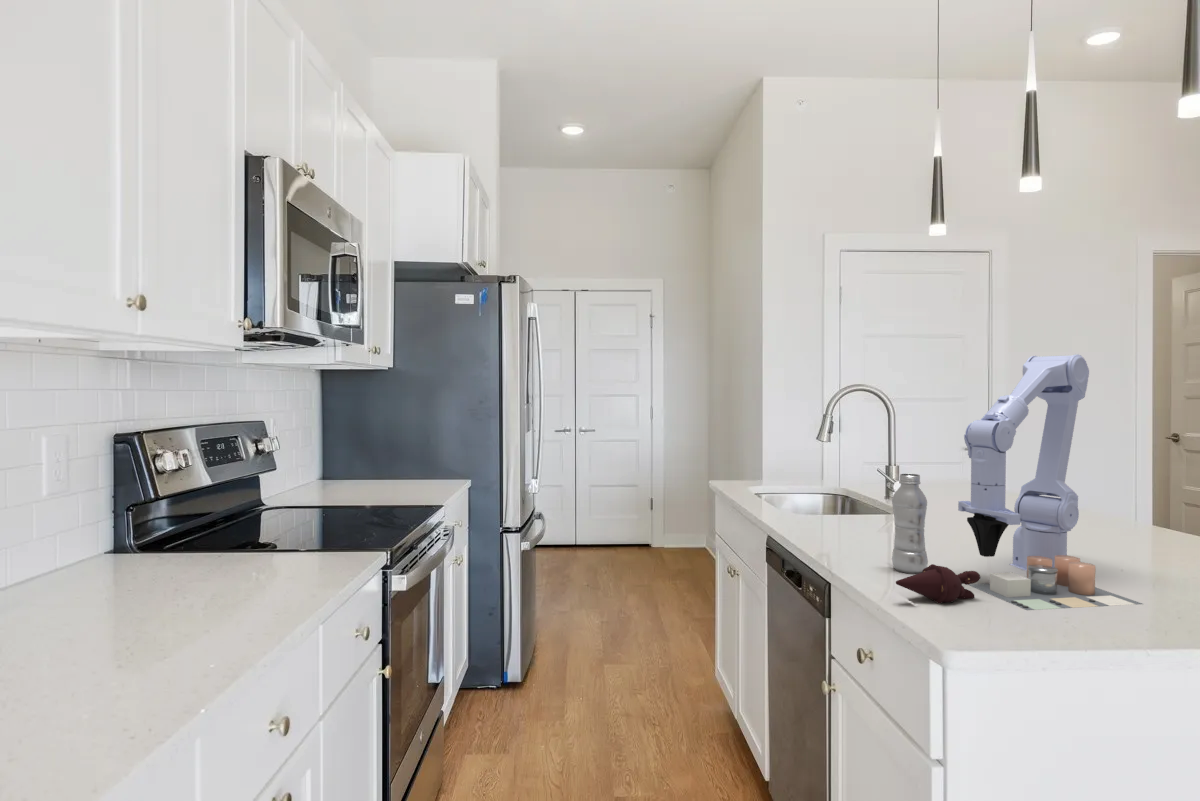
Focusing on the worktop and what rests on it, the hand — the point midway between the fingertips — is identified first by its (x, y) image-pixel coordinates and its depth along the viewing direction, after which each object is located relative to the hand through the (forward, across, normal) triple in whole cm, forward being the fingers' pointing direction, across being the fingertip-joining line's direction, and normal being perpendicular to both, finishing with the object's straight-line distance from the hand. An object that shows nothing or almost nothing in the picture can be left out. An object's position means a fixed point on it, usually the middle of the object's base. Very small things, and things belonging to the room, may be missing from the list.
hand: (987, 555), depth 132 cm
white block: (+5, +6, 0) cm, 8 cm away
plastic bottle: (+6, -11, -9) cm, 15 cm away
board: (+6, +8, +7) cm, 12 cm away
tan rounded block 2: (+5, +2, +15) cm, 16 cm away
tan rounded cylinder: (+5, +8, +13) cm, 16 cm away
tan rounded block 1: (+5, +2, +9) cm, 11 cm away
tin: (+5, +6, +7) cm, 10 cm away
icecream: (+6, +8, -15) cm, 18 cm away
